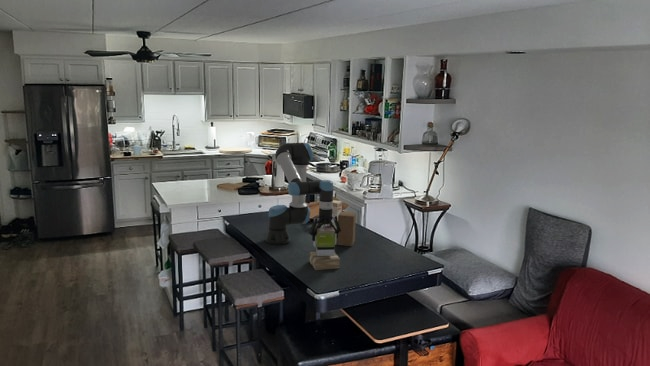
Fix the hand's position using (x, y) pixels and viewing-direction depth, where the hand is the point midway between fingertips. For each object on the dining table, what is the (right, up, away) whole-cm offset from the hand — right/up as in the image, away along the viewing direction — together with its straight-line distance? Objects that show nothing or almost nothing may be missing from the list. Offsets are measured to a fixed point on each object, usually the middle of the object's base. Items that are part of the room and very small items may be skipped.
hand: (324, 245), depth 285 cm
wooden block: (+14, -4, +42) cm, 44 cm away
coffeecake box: (+4, +3, +78) cm, 78 cm away
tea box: (0, -4, +1) cm, 4 cm away
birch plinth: (0, -12, +2) cm, 12 cm away
